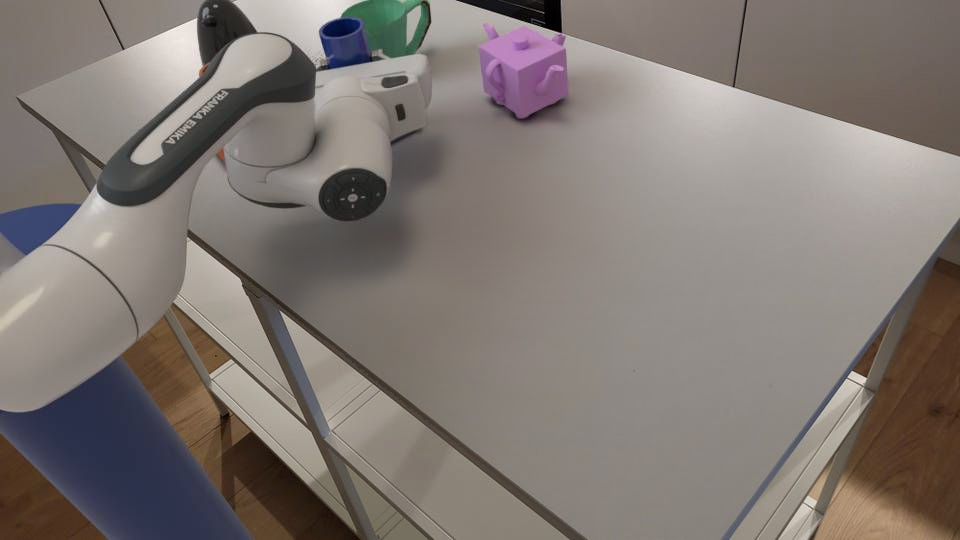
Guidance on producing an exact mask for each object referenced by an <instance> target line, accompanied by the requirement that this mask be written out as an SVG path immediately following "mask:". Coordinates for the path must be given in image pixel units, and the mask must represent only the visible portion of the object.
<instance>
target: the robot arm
mask: <svg viewBox="0 0 960 540" xmlns="http://www.w3.org/2000/svg"><path fill="white" fill-rule="evenodd" d="M371 57H372V61H373V62H369V63H363V64H358V65H352V66H347V67H341V68H335V69H330V70H329V67H328V63H327V60H326V58H325V59H318V60H316V64H315V63H314V62H313V61H312V59H311V58H310V57H309V56H308V55H307V54H306V53H305V52H304V50H302V49H301V48H300V47H299V46H298V45H297V44H295V42H293V41H292V40H290V39H289V38H288V37H285V35H281V34H279V33H274V32H266V31H257V33H250V34H246V35H242V36H240V37H238V38H236V39H234V40H232V41H231V42H229V43H228V44H227V45H225V46H224V47H223V48H222V49H221V50H220V51H219V52H218V53H217V54H216V56H215V57H214V58H213V59H212V60H211V62H210V64H209V65H208V67H207V69H206V70H205V72H204V73H203V74H202V75H201V76H200V77H199V76H198V78H197V79H195V81H194V82H193V83H191V84H190V85H189V86H188V87H187V88H185V90H183V91H182V92H181V93H180V94H179V95H178V96H176V97H175V98H174V99H173V100H172V101H171V102H170V103H169V104H168V105H166V106H165V107H164V108H163V109H162V110H160V112H158V113H156V115H155V116H154V117H153V118H152V119H150V120H149V121H147V123H146V124H145V125H143V126H142V127H141V128H140V129H138V131H137V132H136V133H134V134H133V135H132V136H131V137H130V138H129V139H128V140H127V141H125V142H124V143H123V145H122V146H121V147H119V148H118V149H117V151H116V152H114V153H113V155H112V156H111V157H110V158H109V159H108V160H107V162H106V163H105V165H104V166H103V169H102V170H101V172H100V175H99V176H98V178H97V181H96V183H95V185H94V186H93V187H92V190H91V191H90V193H89V194H88V196H87V197H86V199H85V200H84V201H83V203H82V206H81V207H80V208H79V209H78V211H77V212H76V213H75V214H74V215H73V216H72V218H71V219H70V220H69V221H68V222H67V223H66V224H65V225H64V226H63V227H62V228H61V229H60V230H59V231H58V232H57V233H56V234H55V235H54V236H52V237H51V238H50V239H49V240H48V241H46V242H45V243H44V244H42V245H41V246H40V247H38V248H36V249H35V250H34V251H32V252H31V253H29V254H28V255H27V256H26V255H25V254H23V253H22V252H21V251H20V250H18V249H17V248H16V247H15V246H14V245H13V244H12V243H11V242H10V241H9V240H8V239H7V238H6V237H5V236H4V235H3V234H2V233H1V232H0V409H1V410H4V411H9V412H27V411H33V410H36V409H39V408H41V407H44V406H46V405H47V404H49V403H51V402H53V401H54V400H56V399H58V398H59V397H61V396H63V395H65V394H66V393H68V392H70V391H71V390H73V389H74V388H76V387H77V386H79V385H80V384H82V383H84V382H85V381H87V380H88V379H89V378H91V377H92V376H94V375H95V374H96V373H98V372H99V371H101V370H102V369H103V368H105V367H106V366H107V365H109V364H110V363H111V362H112V361H114V360H115V359H116V358H118V357H119V356H120V355H122V354H124V353H125V352H127V350H128V349H130V348H131V347H132V346H133V345H134V344H136V342H138V341H139V340H140V339H141V338H142V337H144V336H145V335H146V334H147V333H148V332H149V331H150V330H152V329H153V327H155V326H156V325H157V323H158V322H159V321H160V320H161V319H162V318H164V316H165V314H166V313H168V310H169V309H170V308H171V307H172V305H173V303H174V302H175V300H176V299H177V297H178V296H179V294H180V292H181V290H182V288H183V284H184V281H185V278H186V277H185V276H186V269H187V252H188V251H187V249H188V232H189V231H188V229H189V219H190V213H191V205H192V201H193V196H194V192H195V189H196V185H197V183H198V180H199V178H200V175H201V174H202V172H203V170H204V169H205V168H206V166H207V165H208V164H209V162H210V161H211V160H212V159H213V158H214V157H215V156H216V155H218V154H217V153H218V152H219V151H220V150H221V149H222V148H223V149H224V156H225V163H226V164H225V163H224V164H225V170H226V175H227V182H228V185H229V187H230V188H231V189H232V190H233V191H234V192H235V193H236V194H237V195H239V196H240V197H241V198H243V199H245V200H247V201H248V202H250V203H253V204H255V205H259V206H262V207H266V208H271V209H282V210H283V209H284V210H285V209H286V210H287V209H288V210H289V209H296V208H297V209H299V208H303V207H309V208H312V209H314V210H316V211H317V212H318V213H320V214H322V215H323V216H324V217H326V218H329V219H330V220H333V221H335V222H336V221H337V222H343V223H348V222H349V223H350V222H357V221H360V220H364V219H366V218H368V217H369V216H372V214H374V213H375V212H376V211H377V210H379V208H380V207H381V206H382V205H383V203H384V202H385V200H386V199H387V196H388V194H389V192H390V188H391V184H392V178H393V151H392V150H393V149H392V144H391V143H390V142H391V141H392V140H394V139H396V138H398V137H400V136H402V135H404V134H407V133H409V132H412V131H414V130H417V131H418V130H419V129H421V128H423V127H425V126H426V125H427V122H428V121H427V120H428V119H427V109H428V108H429V107H430V104H431V101H432V96H433V80H432V75H431V66H430V62H429V58H428V56H427V55H425V54H423V53H414V54H413V55H408V56H402V57H397V58H389V57H388V56H386V55H384V54H383V52H382V49H380V50H374V51H371Z"/></svg>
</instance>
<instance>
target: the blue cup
mask: <svg viewBox="0 0 960 540" xmlns="http://www.w3.org/2000/svg"><path fill="white" fill-rule="evenodd" d="M318 35H319V39H320V43H321V45H322V49H323V53H324V56H325V59H326V60H327V63H328V67H329V70H330V69H335V68H341V67H347V66H352V65H358V64H363V63H369V62H373V61H372V57H371V50H370V46H369V42H368V38H367V33H366V29H365V25H364V21H363V20H361V19H360V18H356V17H342V18H340V17H337V18H334V19H332V20H329V21H327V22H326V23H324V24H323V25H322V26H320V27H319V29H318Z"/></svg>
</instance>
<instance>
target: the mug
mask: <svg viewBox="0 0 960 540" xmlns="http://www.w3.org/2000/svg"><path fill="white" fill-rule="evenodd" d="M419 6H420V16H419V20H418V22H417V25H416V28H415V31H414V32H413V36H412V39H411V40H410V42H409V43H408V41H407V40H408V39H407V38H408V37H407V36H408V34H407V33H408V31H407V30H408V14H409V13H410V12H412V11H413V10H414V9H416V8H417V7H419ZM342 17H356V18H360V19H361V20H363V21H364V25H365V29H366V33H367V38H368V42H369V46H370V50H371V51H374V50H380V49H382V52H383V54H384V55H386V56H388V57H389V58H397V57H402V56H408V55H413V54H416V52H418V50H419V49H420V48H421V47H422V44H423V43H424V40H425V38H426V36H427V34H428V31H429V29H430V27H431V24H432V11H431V3H430V0H404V1H403V2H402V1H401V0H362V1H359V2H357V3H355V4H353V5H351V6H349V7H347V8H346V9H345V10H343V12H342V13H341V15H340V17H339V18H342Z"/></svg>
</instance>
